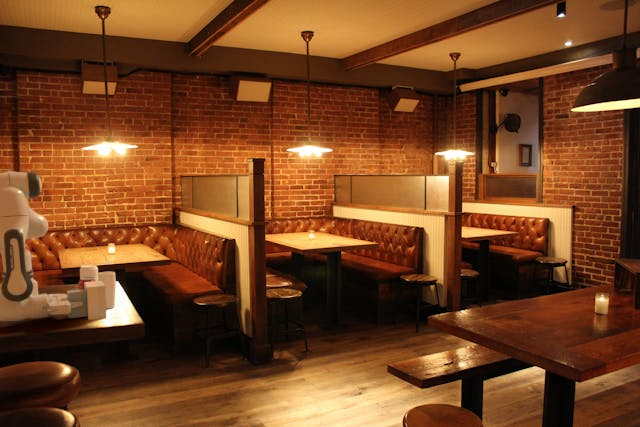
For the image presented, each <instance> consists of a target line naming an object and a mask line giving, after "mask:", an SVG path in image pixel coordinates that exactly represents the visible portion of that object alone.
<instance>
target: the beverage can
mask: <svg viewBox="0 0 640 427" xmlns="http://www.w3.org/2000/svg"><path fill="white" fill-rule="evenodd" d="M98 274H99V268H98V266H97V264H84V265H81V266H80V268H79V279H80V278H84V277H94V279H95V281H99V280H98Z"/></svg>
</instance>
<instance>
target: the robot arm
mask: <svg viewBox="0 0 640 427" xmlns="http://www.w3.org/2000/svg"><path fill="white" fill-rule="evenodd" d="M42 189H43V182H42V179H41V178H40V175H38V174H37V173H36V172H31V171H27V172H25V171H24V172H21V171H13V170H8V171H7V170H6V171H4V172H0V255H1V260H2V269H3V270H2V275H1V277H2V282H1V283H0V321H1V322H17V321H23V320H25V319H26V320H27V319H43V318H48V317H49V315H50V316H51V315H52V316H54V315H55V316H56V315H68V313H70V312H71V308H75V307H78V306H82V305H83V303H82V301H77V302H69V300H68V298H67V293H49V294H48V293H47V292H43V293H42V292H41V293H40V294H39V288H38V285H39V284H38V281H36V280H35V279H34V270H33V265H32V253H31V251H30V250H28V248H25V247H26V246H25V245H26V240H29V239H37V238H42V237H44V236H45V235H46V234H47V232H48V229H49V223H48V220H47V218H46V217H45V216H44V215H42V214H39V213H38V212H36V211H35V210H33V208H31V207H30V205H29V200H28V199H35V198H39V196H40V195H41V192H42Z"/></svg>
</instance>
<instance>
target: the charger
mask: <svg viewBox="0 0 640 427" xmlns="http://www.w3.org/2000/svg"><path fill="white" fill-rule="evenodd" d="M66 294H67V298H68V300H69V302H77V301H82V303H83V305H82V306H78V307H75V308H71V312H70V313H68V314H67V316H68V318H69V319H74V318H81V317H83V318H84V317H88V308H87V290H86V289H80V290H79V289H71V290H66Z"/></svg>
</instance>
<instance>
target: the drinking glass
mask: <svg viewBox="0 0 640 427" xmlns="http://www.w3.org/2000/svg"><path fill="white" fill-rule="evenodd" d="M116 277H117V276H116V272H115V271H102V272H98V281H102V282H103V284H104V285H105V298H106V310H109V309H113V308H115V306H116V302H115V300H116V286H117V285H116V283H117V281H116V280H117V279H116Z"/></svg>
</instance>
